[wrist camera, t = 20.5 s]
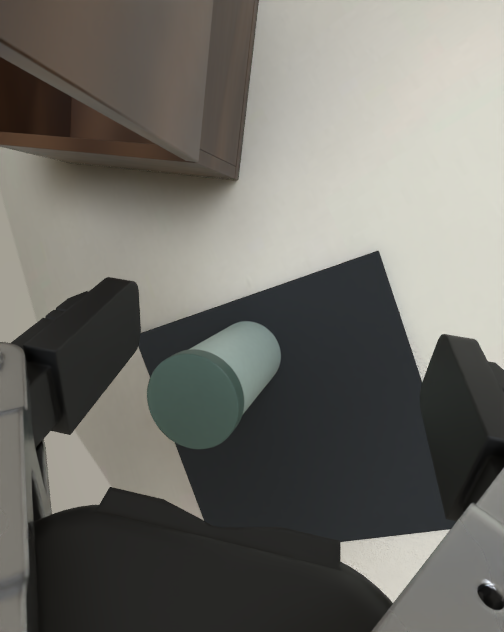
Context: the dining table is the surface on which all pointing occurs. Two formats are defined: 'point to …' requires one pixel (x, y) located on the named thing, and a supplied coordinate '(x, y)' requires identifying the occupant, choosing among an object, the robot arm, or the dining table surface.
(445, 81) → the dining table surface
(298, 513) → the mat
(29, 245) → the dining table surface
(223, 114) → the chest
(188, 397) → the canister
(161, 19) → the chest lid
